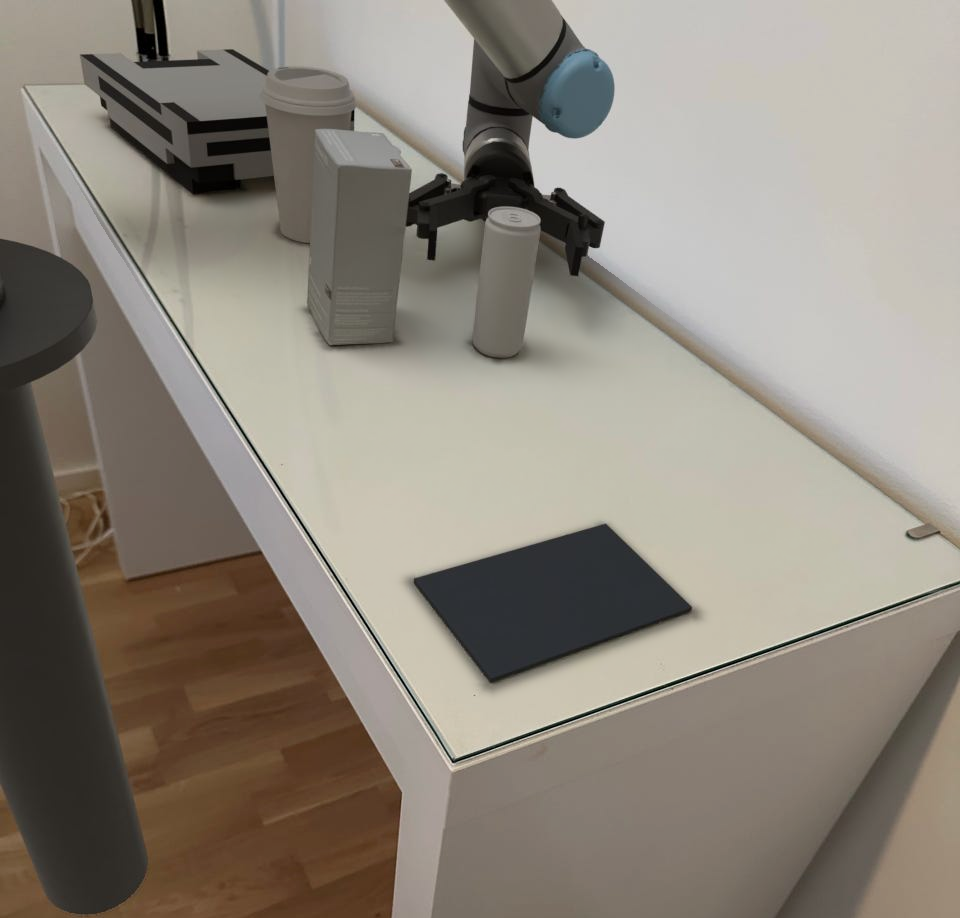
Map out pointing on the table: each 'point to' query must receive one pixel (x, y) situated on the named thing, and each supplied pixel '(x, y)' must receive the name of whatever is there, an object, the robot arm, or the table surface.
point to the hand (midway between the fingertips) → (505, 254)
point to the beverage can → (505, 280)
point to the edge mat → (549, 600)
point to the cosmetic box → (356, 235)
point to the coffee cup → (301, 135)
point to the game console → (189, 114)
